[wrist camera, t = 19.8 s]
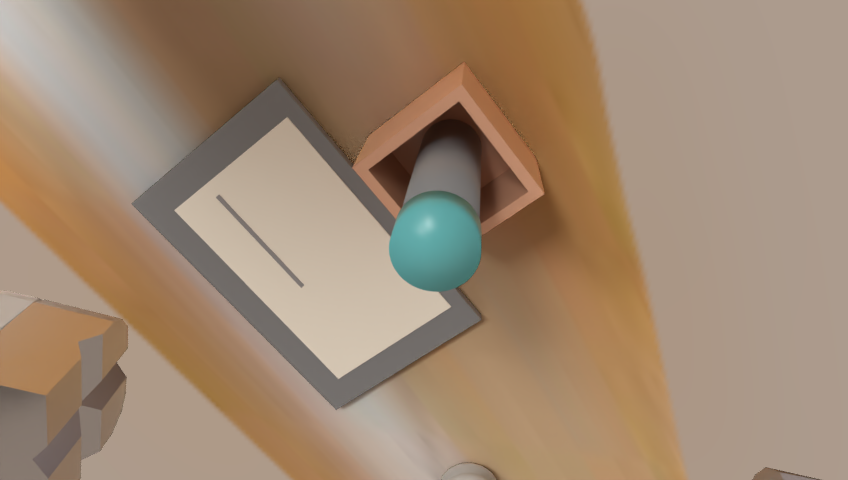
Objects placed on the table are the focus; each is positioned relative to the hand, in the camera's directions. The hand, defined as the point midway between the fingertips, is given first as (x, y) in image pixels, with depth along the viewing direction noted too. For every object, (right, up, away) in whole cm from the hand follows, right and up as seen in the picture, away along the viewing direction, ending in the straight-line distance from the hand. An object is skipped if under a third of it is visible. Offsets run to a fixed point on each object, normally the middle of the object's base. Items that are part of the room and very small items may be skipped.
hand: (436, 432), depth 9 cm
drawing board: (-8, +1, +37) cm, 37 cm away
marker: (+1, +8, +32) cm, 33 cm away
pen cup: (+2, +8, +33) cm, 34 cm away
